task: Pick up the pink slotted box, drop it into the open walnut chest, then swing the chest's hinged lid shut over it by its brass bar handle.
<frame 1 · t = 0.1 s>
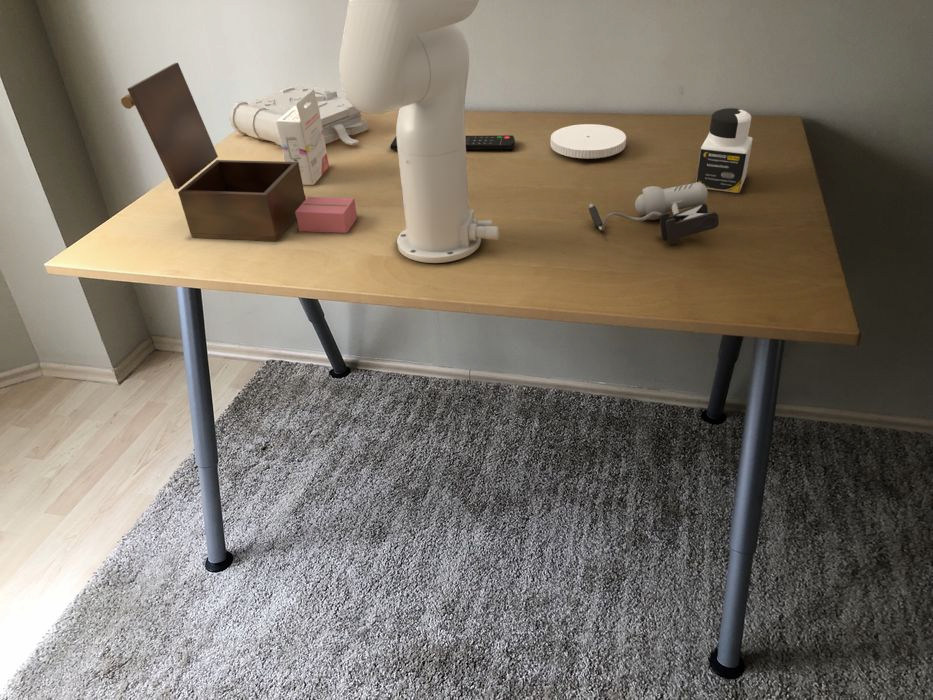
clip-on lamp: (648, 229, 111), on the table
plastic lid: (587, 150, 138), on the table
remote control: (453, 148, 143), on the table
medicine bottle: (720, 184, 123), on the table
chest: (251, 221, 120), on the table
ink cartridge box: (309, 177, 135), on the table
book: (309, 136, 153), on the table
pink slotted box: (328, 224, 118), on the table
lid: (163, 127, 113), point 15 cm above the table, hinge at 100.0°
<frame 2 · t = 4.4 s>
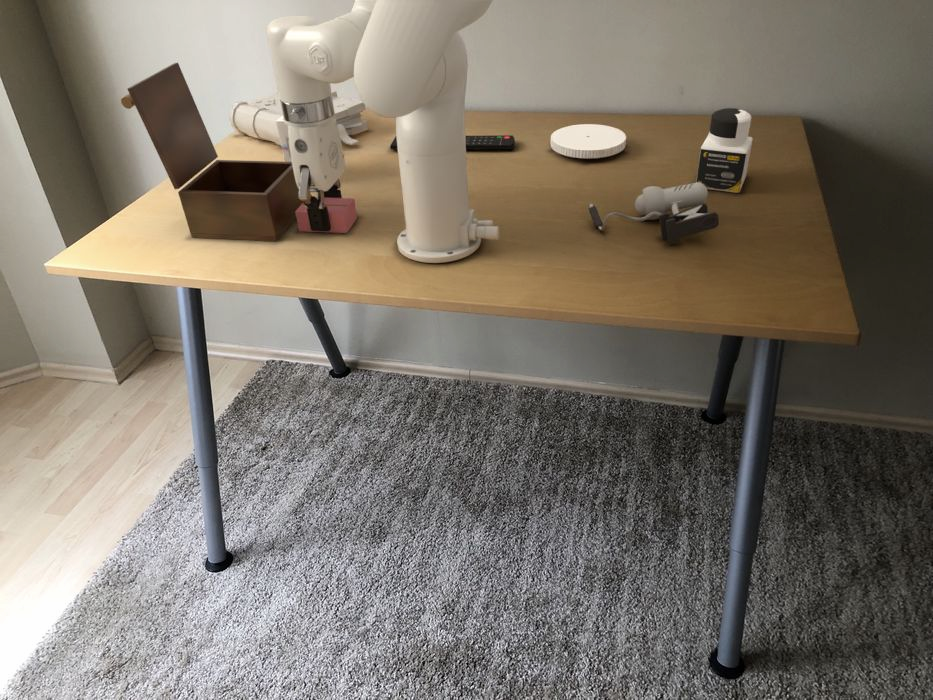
hand: (327, 220, 117), 1 cm above the table, tool pointing down, fingers closed on pink slotted box, 5 cm apart
pink slotted box: (328, 224, 118), on the table, touching gripper
everything else where it was.
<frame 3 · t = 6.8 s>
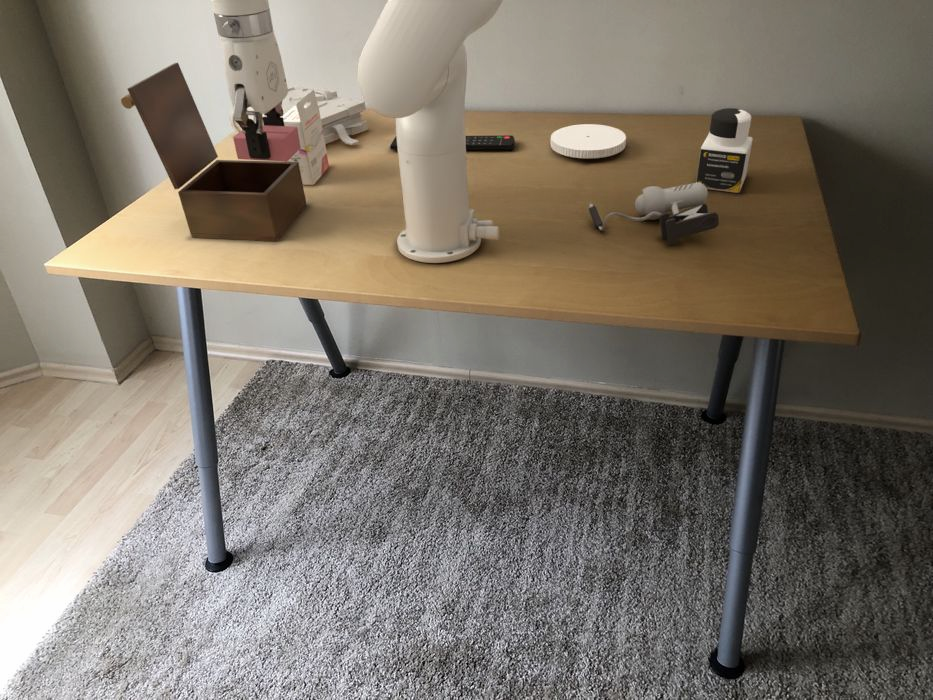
hand: (268, 149, 112), 12 cm above the table, tool pointing down, fingers closed on pink slotted box, 5 cm apart
pink slotted box: (269, 153, 112), point 12 cm above the table, touching gripper
everything else where it was.
when the fingers open (6 cm above the table, at t = 9.2 s): pink slotted box drops 5 cm, resting on chest.
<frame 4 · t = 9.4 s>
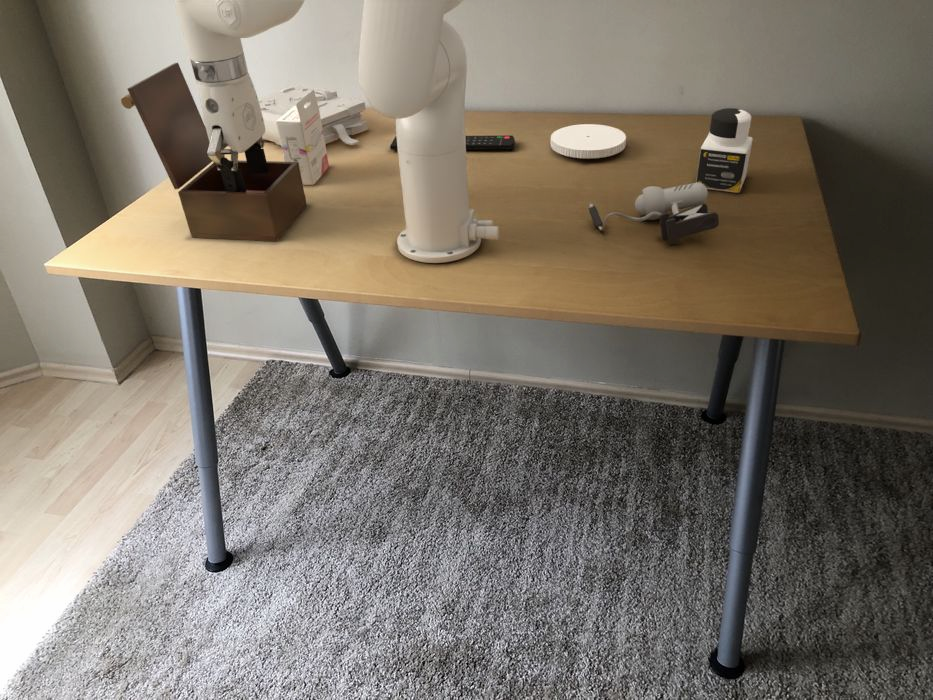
hand: (248, 182, 116), 7 cm above the table, tool pointing down, fingers open, 7 cm apart
pink slotted box: (255, 216, 119), point 1 cm above the table, touching chest
everything else where it was.
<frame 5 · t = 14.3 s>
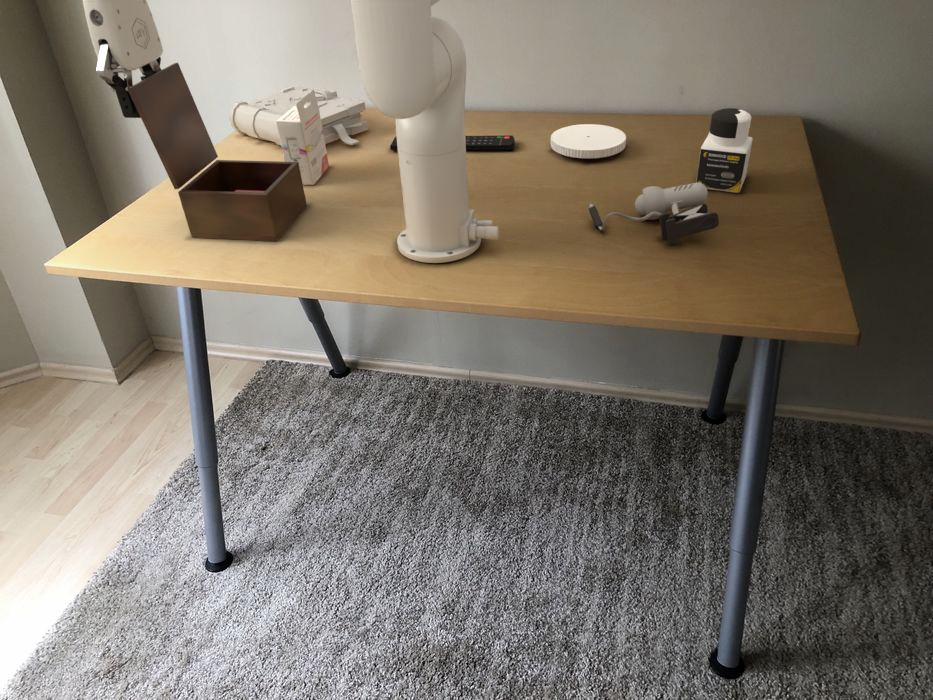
hand: (146, 108, 112), 18 cm above the table, tool pointing down, fingers closed on lid, 6 cm apart
lid: (163, 127, 113), point 15 cm above the table, hinge at 100.0°, touching gripper
everything else where it was.
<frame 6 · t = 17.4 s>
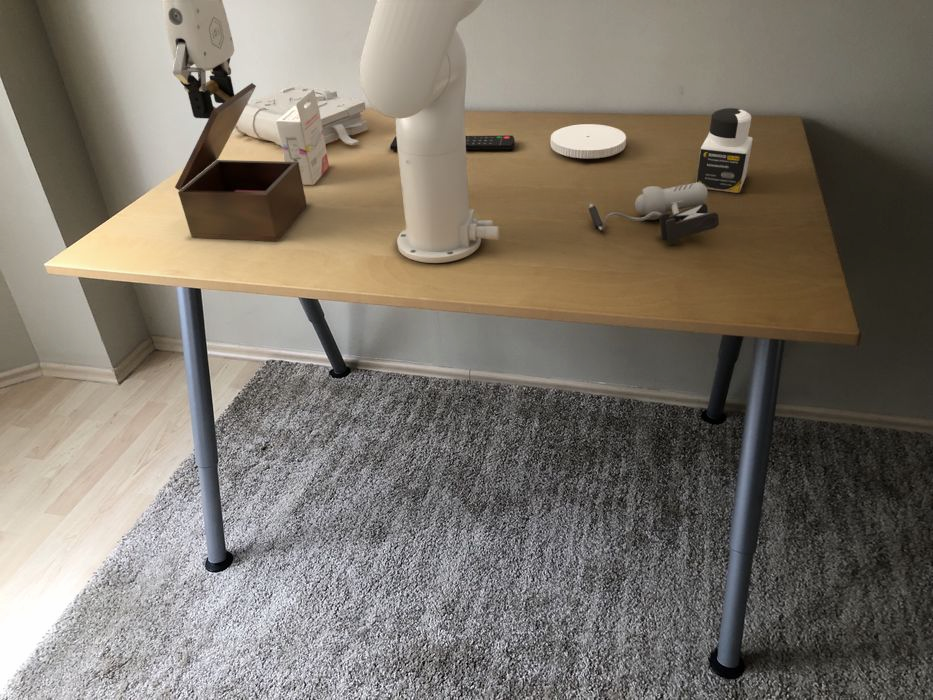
hand: (215, 108, 109), 18 cm above the table, tool pointing down, fingers closed on lid, 6 cm apart
lid: (202, 126, 112), point 16 cm above the table, hinge at 50.8°, touching gripper
everything else where it was.
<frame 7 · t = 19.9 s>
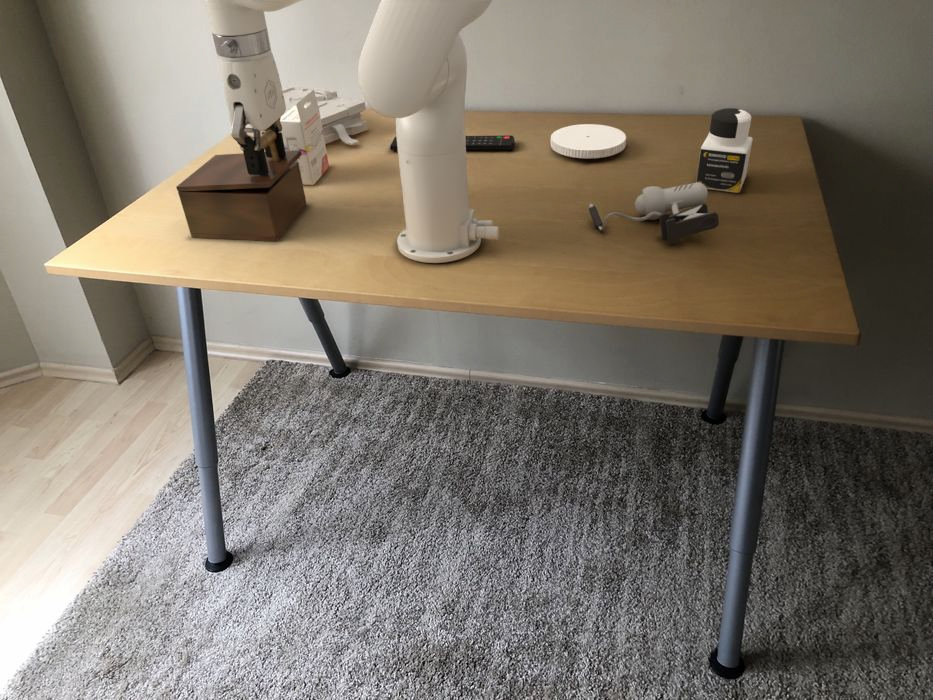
hand: (267, 164, 113), 10 cm above the table, tool pointing down, fingers closed on lid, 6 cm apart
lid: (236, 155, 113), point 11 cm above the table, hinge at 4.2°, touching gripper
everything else where it was.
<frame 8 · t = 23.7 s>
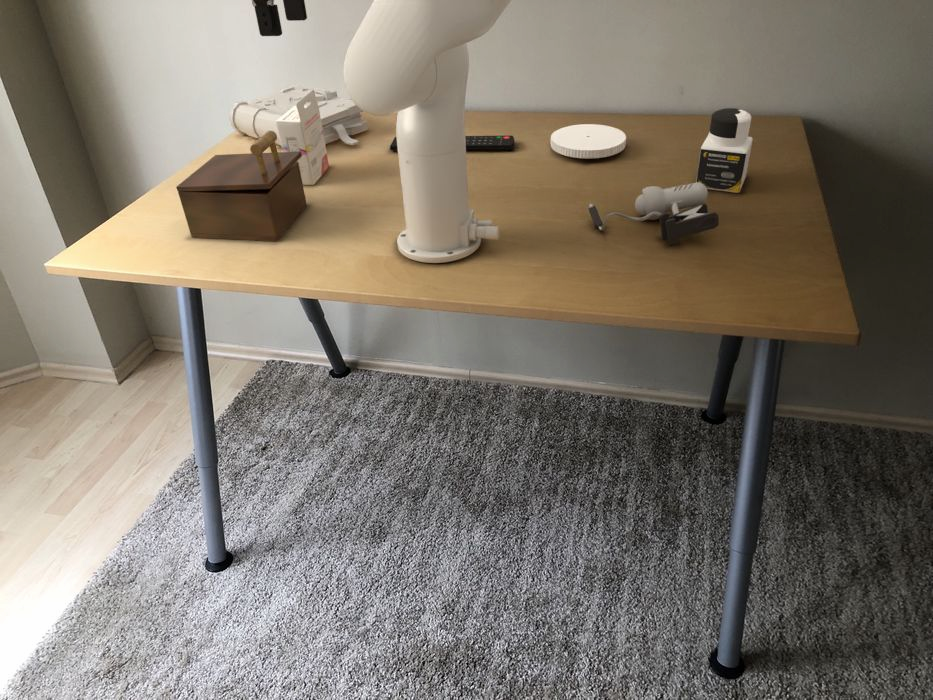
hand: (284, 27, 107), 28 cm above the table, tool pointing down, fingers open, 9 cm apart
lid: (236, 156, 113), point 11 cm above the table, hinge at 3.5°
everything else where it was.
at the end: pink slotted box inside the target area in the chest (1.0 cm from its centre), point 0.8 cm above the chest's base; lid at +4° (first picture: +100°) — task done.
